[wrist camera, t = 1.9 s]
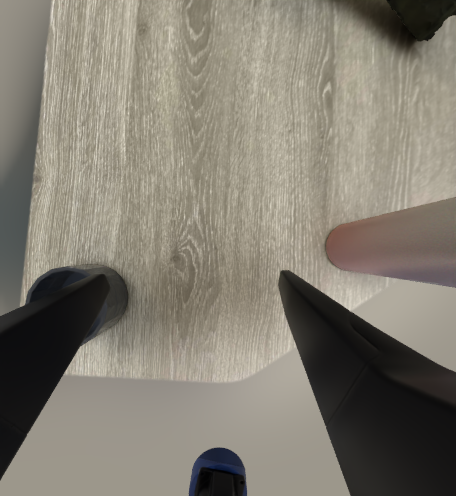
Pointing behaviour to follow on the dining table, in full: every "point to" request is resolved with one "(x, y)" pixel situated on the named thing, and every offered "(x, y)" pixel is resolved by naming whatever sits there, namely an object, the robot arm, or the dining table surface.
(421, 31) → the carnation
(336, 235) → the beverage can
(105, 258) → the dining table surface
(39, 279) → the pot
